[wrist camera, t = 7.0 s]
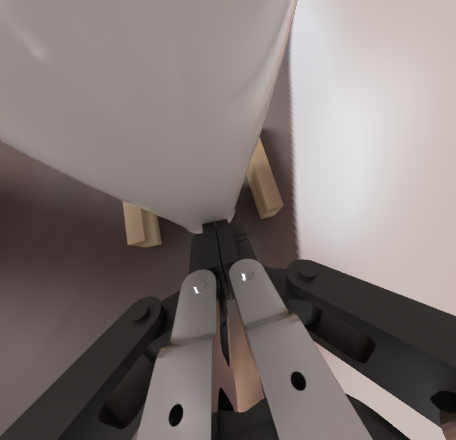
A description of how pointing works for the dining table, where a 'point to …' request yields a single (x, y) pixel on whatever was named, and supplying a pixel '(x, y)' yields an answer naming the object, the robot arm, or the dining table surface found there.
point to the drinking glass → (143, 95)
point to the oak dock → (260, 186)
